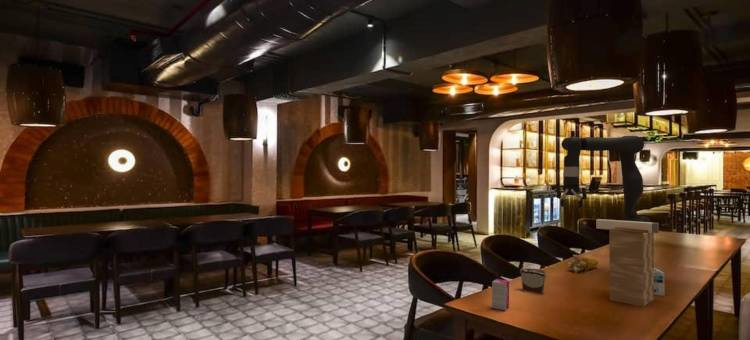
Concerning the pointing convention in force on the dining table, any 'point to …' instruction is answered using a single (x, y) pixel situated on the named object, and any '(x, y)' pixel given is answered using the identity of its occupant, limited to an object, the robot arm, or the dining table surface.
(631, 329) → the dining table surface
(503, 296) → the supplement box
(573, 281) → the dining table surface
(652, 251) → the stand
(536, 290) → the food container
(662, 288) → the light bulb box
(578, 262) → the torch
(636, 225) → the bar
